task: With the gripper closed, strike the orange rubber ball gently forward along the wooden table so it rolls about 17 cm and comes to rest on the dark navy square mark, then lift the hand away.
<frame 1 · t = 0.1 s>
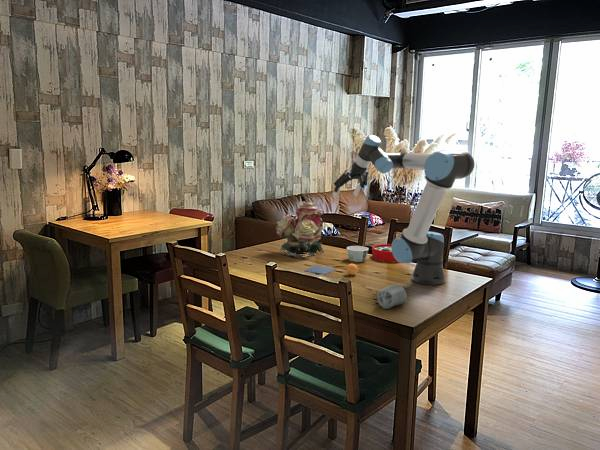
hand: (344, 195, 265), 36 cm above the table, fingers open, 13 cm apart
spool: (391, 306, 203), on the table
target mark: (320, 270, 255), on the table
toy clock: (390, 258, 283), on the table
rose bouquet: (302, 253, 292), on the table
ball: (352, 269, 247), on the table
food container: (357, 260, 278), on the table
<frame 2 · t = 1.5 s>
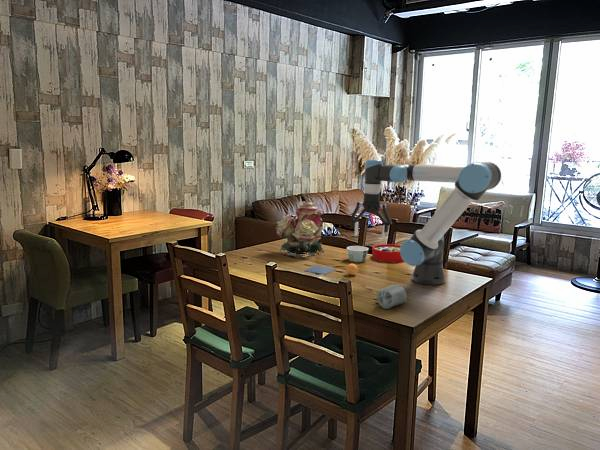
hand: (369, 237, 241), 19 cm above the table, fingers open, 13 cm apart
nothing on the table moved.
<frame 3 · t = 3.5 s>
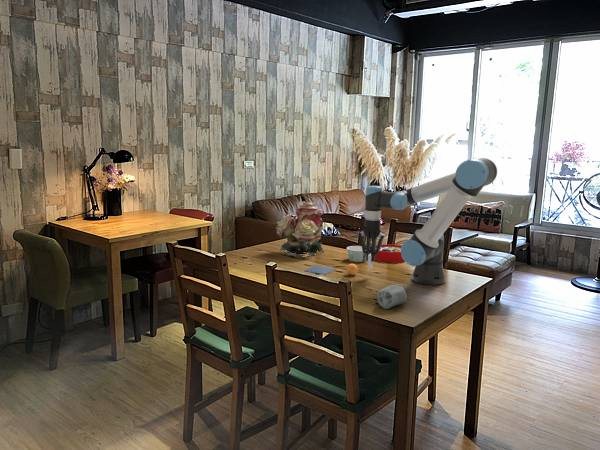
hand: (370, 267, 242), 5 cm above the table, fingers closed
nothing on the table moved.
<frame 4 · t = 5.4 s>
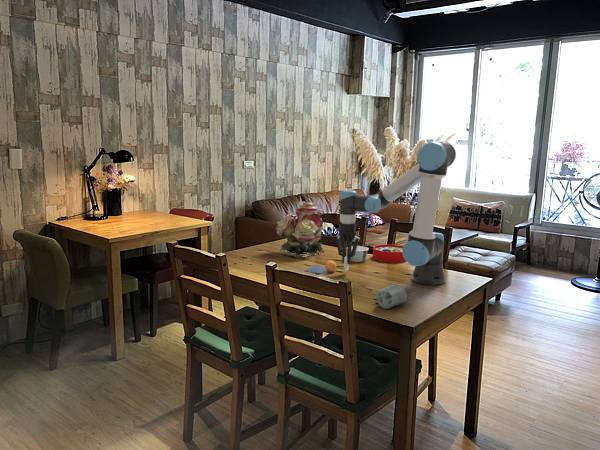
hand: (346, 270, 248), 2 cm above the table, fingers closed
ball: (330, 266, 252), on the table
everything else where it was.
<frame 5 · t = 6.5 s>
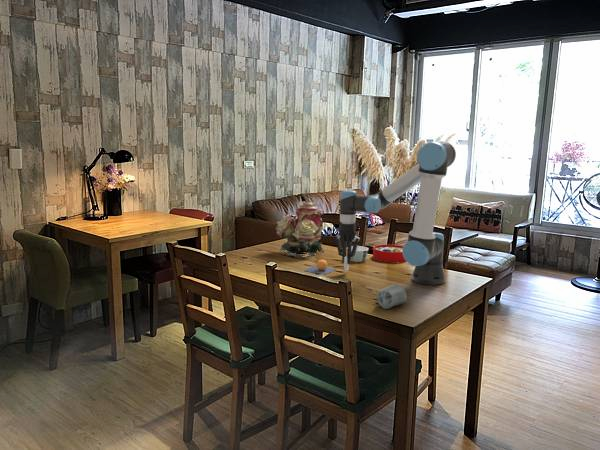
hand: (346, 270, 248), 2 cm above the table, fingers closed
ball: (322, 265, 254), on the table
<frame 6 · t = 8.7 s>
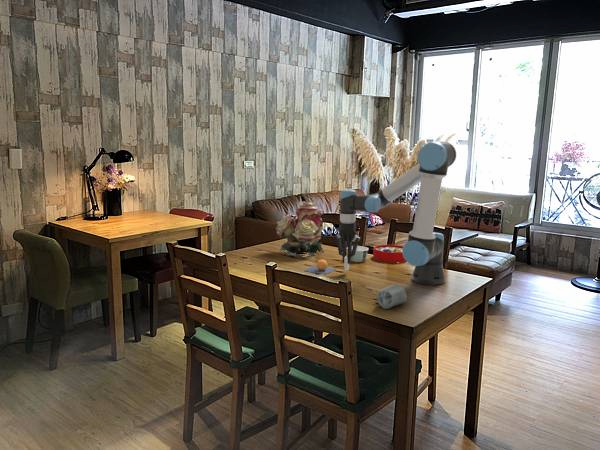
hand: (346, 269, 248), 2 cm above the table, fingers closed
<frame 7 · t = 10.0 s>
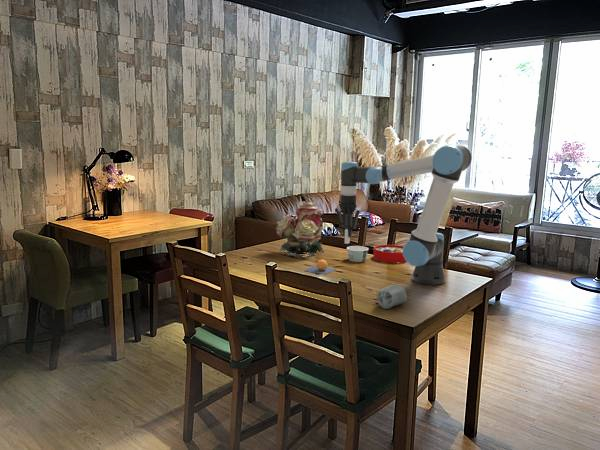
hand: (347, 243, 246), 15 cm above the table, fingers closed
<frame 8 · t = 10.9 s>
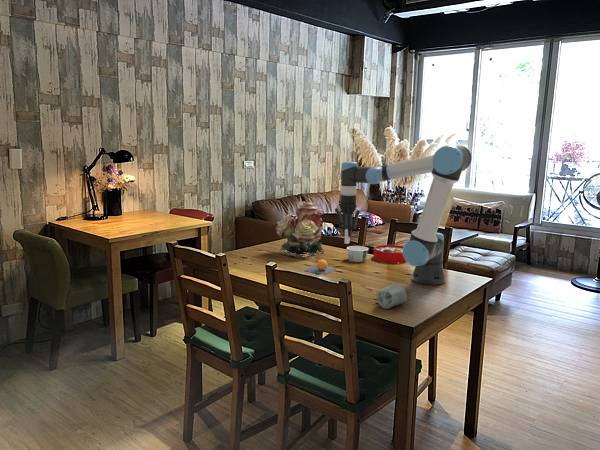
hand: (347, 243, 246), 15 cm above the table, fingers closed
at the end: ball 0.9 cm from the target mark (horizontally); ball at rest at the end (0.0 cm/s); ball moved 16.1 cm from its start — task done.
